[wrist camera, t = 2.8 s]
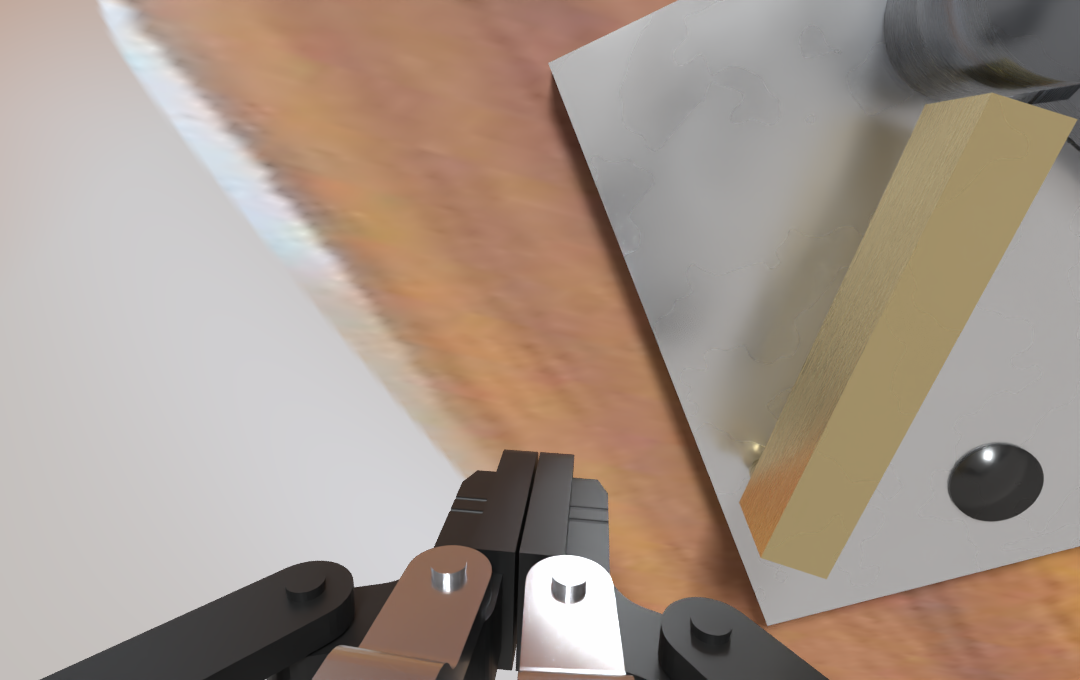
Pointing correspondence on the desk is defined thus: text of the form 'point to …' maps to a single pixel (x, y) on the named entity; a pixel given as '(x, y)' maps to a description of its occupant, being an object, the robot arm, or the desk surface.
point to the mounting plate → (842, 257)
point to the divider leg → (896, 319)
